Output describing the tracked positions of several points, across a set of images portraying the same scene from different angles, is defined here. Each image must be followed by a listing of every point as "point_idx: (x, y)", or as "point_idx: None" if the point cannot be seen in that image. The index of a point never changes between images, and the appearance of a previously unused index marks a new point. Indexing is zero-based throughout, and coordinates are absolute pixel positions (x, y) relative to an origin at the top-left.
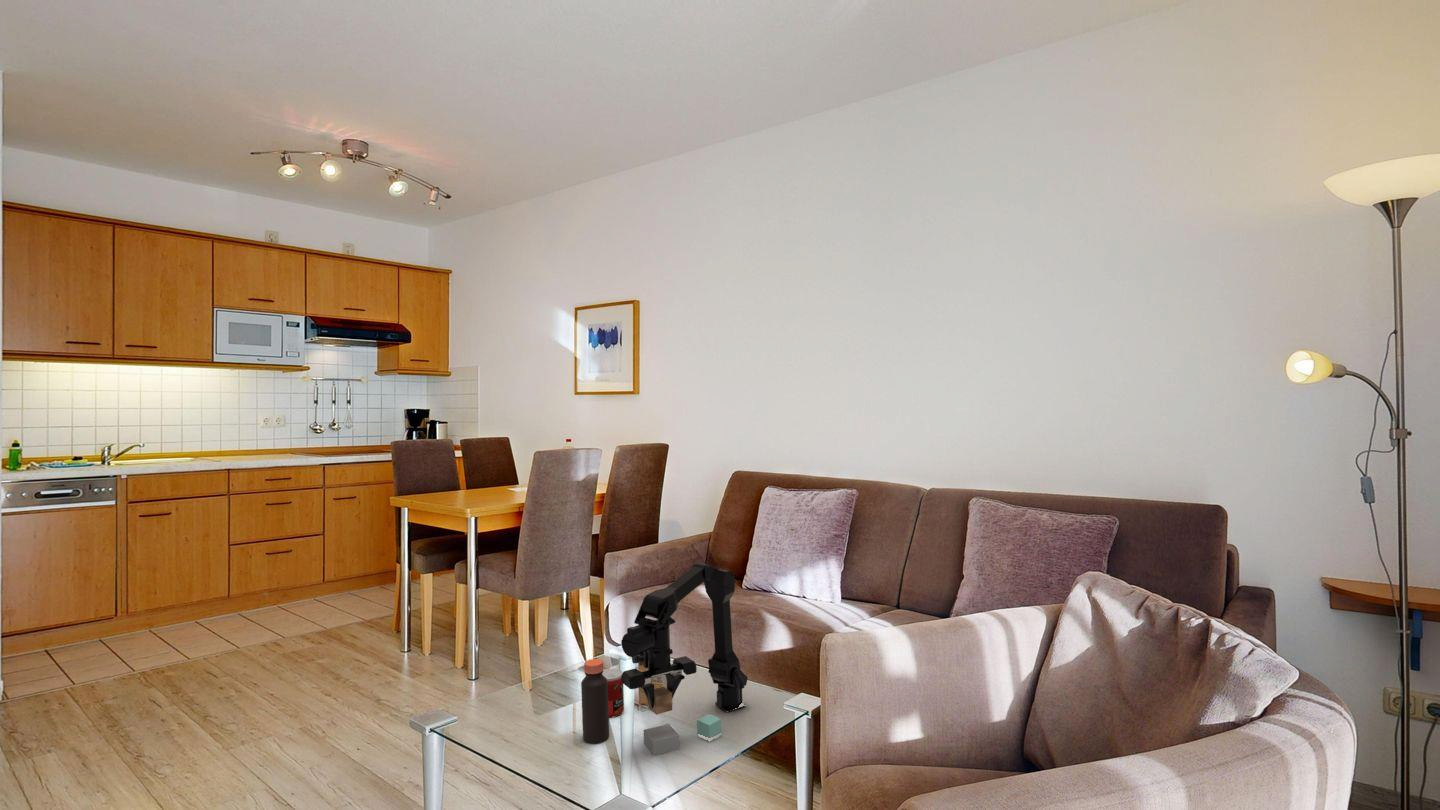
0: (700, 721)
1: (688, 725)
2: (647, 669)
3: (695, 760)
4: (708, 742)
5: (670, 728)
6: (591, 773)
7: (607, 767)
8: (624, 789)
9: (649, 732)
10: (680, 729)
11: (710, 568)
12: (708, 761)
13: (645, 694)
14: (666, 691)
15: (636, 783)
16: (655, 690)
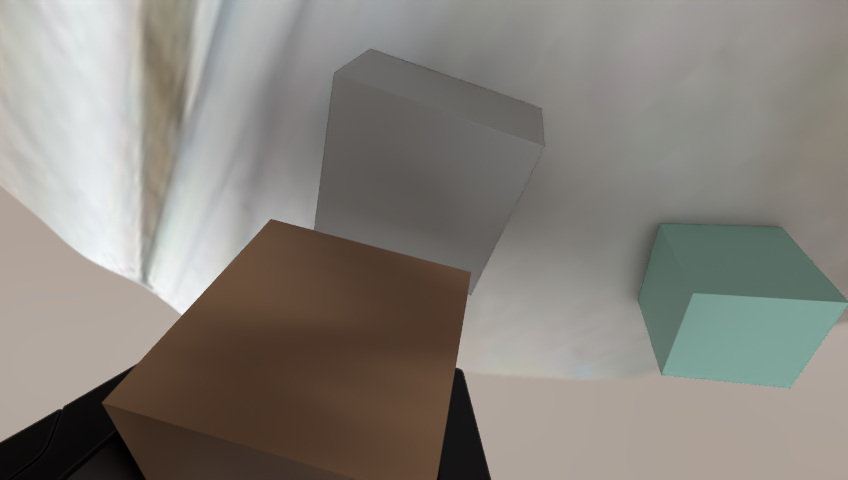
0: (683, 318)
1: (799, 66)
2: None
3: (462, 334)
4: (631, 297)
5: (495, 208)
6: (40, 96)
7: (117, 108)
8: (159, 273)
9: (351, 140)
10: (698, 70)
11: None
12: (492, 367)
13: (58, 414)
14: None
15: (205, 278)
16: (231, 468)
